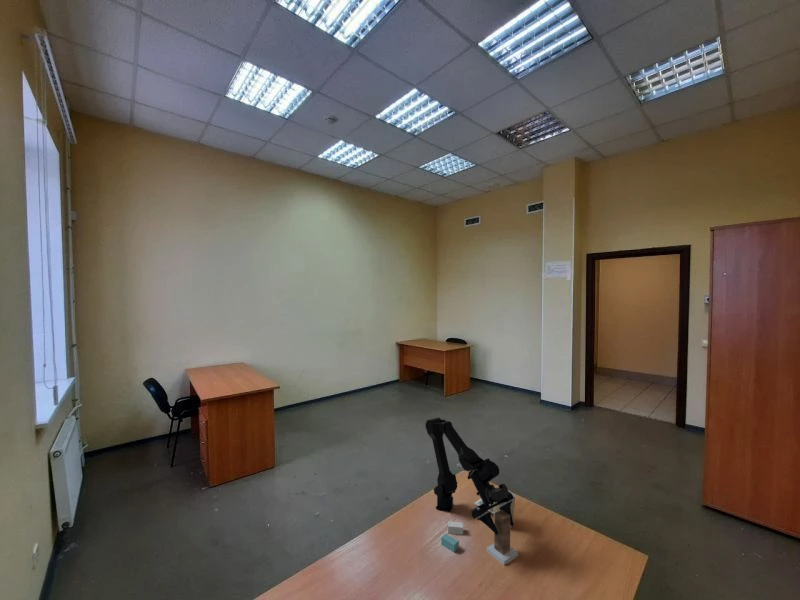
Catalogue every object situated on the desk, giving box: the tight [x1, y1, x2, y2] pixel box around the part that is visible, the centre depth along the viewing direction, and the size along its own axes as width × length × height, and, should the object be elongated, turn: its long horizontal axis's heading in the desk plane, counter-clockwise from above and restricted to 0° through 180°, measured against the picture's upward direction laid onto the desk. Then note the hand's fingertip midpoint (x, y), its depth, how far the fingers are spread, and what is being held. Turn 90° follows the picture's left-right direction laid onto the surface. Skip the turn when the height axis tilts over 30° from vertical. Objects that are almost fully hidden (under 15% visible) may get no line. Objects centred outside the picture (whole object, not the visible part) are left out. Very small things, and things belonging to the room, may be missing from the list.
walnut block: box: [493, 510, 511, 555], centre depth 123 cm, size 4×4×13 cm
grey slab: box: [486, 543, 519, 566], centre depth 123 cm, size 8×8×2 cm
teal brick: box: [440, 533, 460, 553], centre depth 127 cm, size 6×3×3 cm, turn 45°
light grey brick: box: [447, 521, 464, 535], centre depth 135 cm, size 6×3×3 cm, turn 83°
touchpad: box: [473, 498, 494, 515], centre depth 150 cm, size 8×15×2 cm, turn 43°
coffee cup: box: [493, 489, 516, 529], centre depth 140 cm, size 9×9×12 cm
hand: (505, 529), depth 122 cm, fingers open, 8 cm apart
